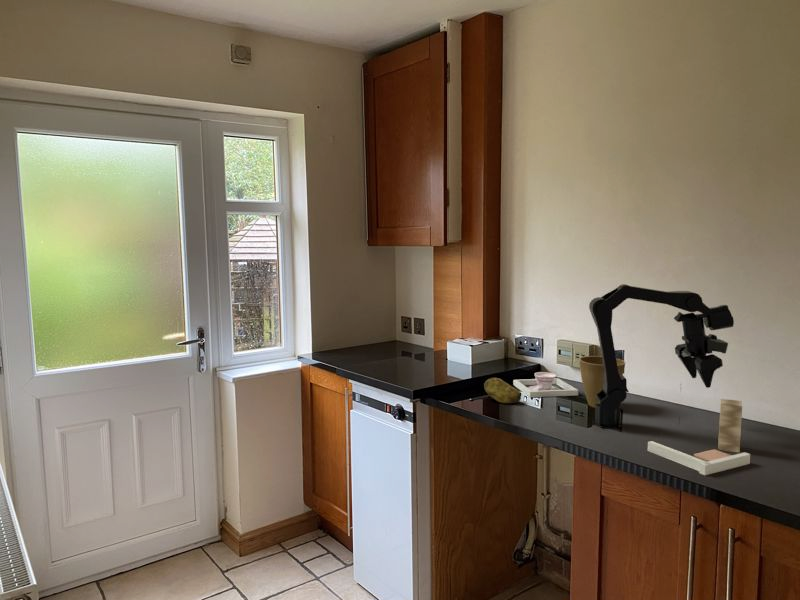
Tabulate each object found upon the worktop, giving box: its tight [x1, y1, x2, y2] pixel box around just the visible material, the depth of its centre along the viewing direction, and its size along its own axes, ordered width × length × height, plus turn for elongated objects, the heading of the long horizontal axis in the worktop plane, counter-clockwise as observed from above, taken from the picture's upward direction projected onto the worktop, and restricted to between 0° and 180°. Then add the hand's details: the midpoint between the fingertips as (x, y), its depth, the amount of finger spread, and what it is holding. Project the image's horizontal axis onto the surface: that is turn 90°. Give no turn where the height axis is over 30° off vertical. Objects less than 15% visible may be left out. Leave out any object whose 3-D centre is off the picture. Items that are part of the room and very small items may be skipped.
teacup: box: [528, 371, 561, 391], centre depth 223 cm, size 12×12×6 cm
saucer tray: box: [512, 377, 579, 398], centre depth 223 cm, size 18×18×2 cm
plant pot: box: [579, 355, 626, 409], centre depth 201 cm, size 15×15×16 cm
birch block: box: [717, 398, 743, 454], centre depth 161 cm, size 5×5×13 cm
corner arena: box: [647, 440, 751, 476], centre depth 154 cm, size 18×17×2 cm
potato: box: [483, 377, 522, 404], centre depth 207 cm, size 8×13×8 cm, turn 40°
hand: (701, 382), depth 177 cm, fingers open, 9 cm apart
